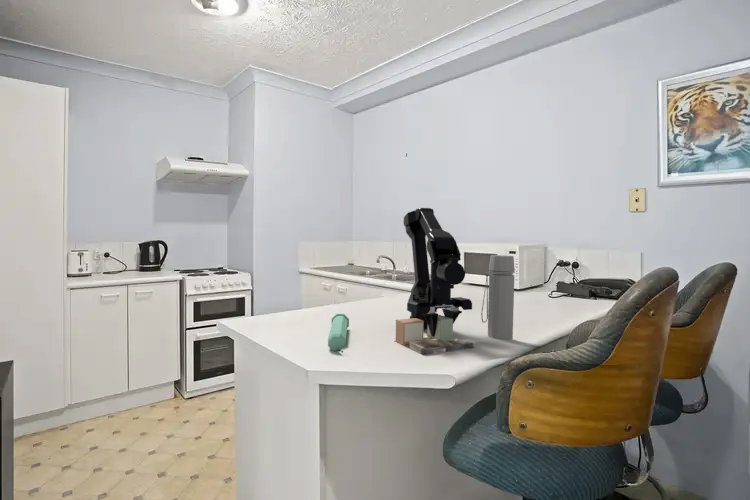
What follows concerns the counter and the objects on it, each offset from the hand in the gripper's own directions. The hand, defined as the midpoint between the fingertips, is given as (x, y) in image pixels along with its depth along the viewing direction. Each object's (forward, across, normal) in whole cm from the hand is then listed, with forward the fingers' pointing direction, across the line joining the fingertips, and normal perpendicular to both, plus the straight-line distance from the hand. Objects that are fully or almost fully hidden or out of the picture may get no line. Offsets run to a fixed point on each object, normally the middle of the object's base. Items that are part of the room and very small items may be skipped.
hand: (439, 335), depth 119 cm
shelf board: (+2, +4, +3) cm, 6 cm away
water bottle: (+3, -18, +3) cm, 19 cm away
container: (+3, +24, -16) cm, 29 cm away
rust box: (+1, +9, -2) cm, 9 cm away
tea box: (+1, 0, 0) cm, 1 cm away
